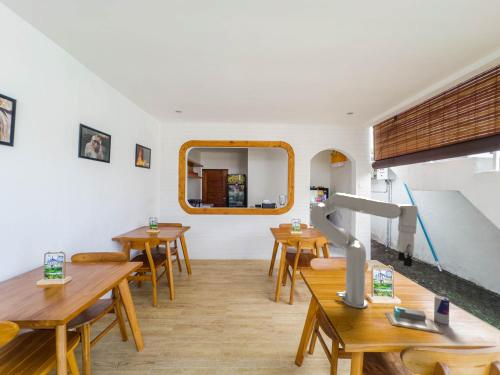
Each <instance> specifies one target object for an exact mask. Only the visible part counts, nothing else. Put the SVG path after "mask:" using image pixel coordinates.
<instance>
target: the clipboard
mask: <svg viewBox="0 0 500 375" xmlns="http://www.w3.org/2000/svg"><path fill="white" fill-rule="evenodd" d="M384 314H385V316H386V318H387V319H388V321H389V324H390V325H391V326H394V327H395V326H396V327H399V328H406V329H412V330H419V331H421V332H422V331H424V332H429V333H435V334H441V335H445V332H444V331H443V330H442V329H441V328H440V327H439V325H438V324H436V323H435V322H434V319H431V318H426V320H425V322H422V321H417V320H411V319H406V318H400V317H399V318H398V317H395V314H394V312H386V311H385V312H384Z"/></svg>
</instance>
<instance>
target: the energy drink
mask: <svg viewBox="0 0 500 375" xmlns="http://www.w3.org/2000/svg"><path fill="white" fill-rule="evenodd" d="M433 303H434V304H433V307H434V308H433V321H434V322H435V324H436V325H437V326H440V327H445V328H446V327H449V325H450V299H449V298H448V297H446V296H443V295H438V294H437V295H435V296H434V302H433Z"/></svg>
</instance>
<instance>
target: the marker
mask: <svg viewBox="0 0 500 375" xmlns="http://www.w3.org/2000/svg"><path fill="white" fill-rule="evenodd" d="M393 314H395V317H398V318H399V317H400V318H406V319H411V320H417V321H422V322H425V320H426V319H427V315H426V313H425V312H424V311H423V310H418V309H413V308H406V307H402V306H397V305H395V306H394V307H393Z"/></svg>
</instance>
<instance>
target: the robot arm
mask: <svg viewBox="0 0 500 375" xmlns="http://www.w3.org/2000/svg"><path fill="white" fill-rule="evenodd" d="M339 209H340V210H346V211H352V212H355V213H360V214H365V215H372V216H376V217H381V218H384V219H385V218H387V219H397V218H398V224H397V225H398V226H397V232H398V236H397V243H396V249H397V250H398V255H397V259H398V261H400V262H401V261H403V266H404V267H409V268H411V267H412V266H413V256H414V255H413V253H414V248H415V235H416V234H417V223H418V211H419V210H418V206H417V205H414V204H406V203H405V204H403V203H402V204H399V203H394V202H386V201H381V200H374V199H371V198H367V197H365V196H357V195H352V194H348V193H347V194H346V193H341V192H334V193H333V194H332V195H330V196H329V197H328V198H326V199H324V200H322V201H320V202H319V203H316V204H314V205H313V206H312V207H311V210H310V215H309V216H310V217H309V218H310V223H311V224H312V226H313V227H314V228H315V230H317V231H318V232H319V233H320V234H322V235H323V236H324V237H325V238H326V239H327V240H329V242H330V243H332V244H333V245H334V246H335V247H337V248H342V249H343V250H344V251H345V253H346V254H345V290H344V291H342V292H340V291H335V295H336V296H337V297H338V298H341V301H342V302H343V304H345V305H347V306H349V307H352V308H355V309H365V308H367V307H368V304H369V303H368V301H367V300H366V299H365V295H366V294H365V293H366V291H365V290H366V264H367V251H366V246H365V245H364V243H363V242H361V240H359V239H358V238H356V237H355V236H354V235H353V234H351V233H350V232H349V231H347V229H345V228H342V227H341V228H340V227H338V226H336V225H335V224H334V223H333V222H331V221H330V220H329V219H328V218H327V216H328V215H330V214H332V213H334V212H335V211H337V210H339Z"/></svg>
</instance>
